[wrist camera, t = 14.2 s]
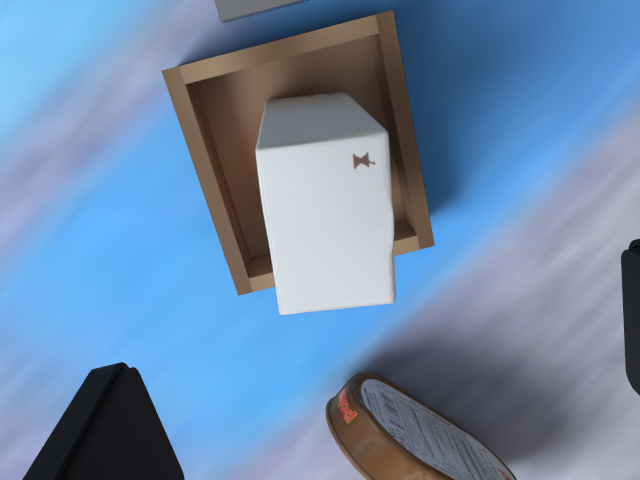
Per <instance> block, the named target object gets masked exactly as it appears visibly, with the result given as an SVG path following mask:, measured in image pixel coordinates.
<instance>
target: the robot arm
mask: <svg viewBox="0 0 640 480" xmlns="http://www.w3.org/2000/svg"><path fill="white" fill-rule="evenodd" d="M621 268H622V292H623V315H624V339H625V363H626V374H627V377H628V380H629V382H630V384H631V386H632V388H633V389H634V390H635V391H636V392H637V393H638V394H639V395H640V239H637V240H633V241H632V242H631V243H630V245H629V249H628V250H625V251H624V252H623V253H622V256H621ZM23 480H185V479H184V474H183V471H182V469H181V466H180V464H179V462H178V460H177V457H176V455H175V453H174V450H173V448H172V446H171V444H170V441H169V439H168V437H167V435H166V432H165V430H164V428H163V425H162V423H161V421H160V419H159V416H158V414H157V412H156V409H155V407H154V405H153V403H152V400H151V398H150V396H149V393H148V391H147V389H146V387H145V384H144V382H143V380H142V378H141V375H140V373H139V371H138V370H137V369H136V368H134V367H132V368H129V367H128V366H127V365H126V364H125V363H123V362H121V363H117V364H113V365H108V366H104V367H100V368H96V369H92V370H91V371H90V373H89V374H88V376H87V377H86V379H85V380H84V382H83V384H82V385H81V387H80V388H79V390H78V392H77V393H76V395H75V396H74V398H73V400H72V401H71V403H70V404H69V406H68V408H67V409H66V411H65V412H64V414H63V416H62V417H61V419H60V420H59V422H58V424H57V425H56V427H55V428H54V430H53V432H52V433H51V435H50V436H49V438H48V440H47V441H46V443H45V444H44V446H43V448H42V449H41V451H40V452H39V454H38V456H37V457H36V459H35V460H34V462H33V464H32V465H31V467H30V468H29V470H28V472H27V473H26V475H25V476H24V478H23Z"/></svg>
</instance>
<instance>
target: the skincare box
mask: <svg viewBox="0 0 640 480" xmlns="http://www.w3.org/2000/svg"><path fill="white" fill-rule="evenodd" d="M255 152H256V160H257V169H258V178H259V186H260V194H261V201H262V207H263V214H264V219H265V225H266V230H267V236H268V242H269V248H270V254H271V260H272V266H273V273H274V279H275V285H276V292H277V298H278V305H279V312H280V314H281V315H288V314H294V313H303V312H312V311H322V310H332V309H342V308H351V307H361V306H370V305H380V304H391V303H394V301H395V299H396V287H395V265H394V213H393V205H392V186H391V168H390V151H389V137H388V132H387V131H386V130H385V129H384V128H383V127H382V126H381V125H380V124H379V123H378V122H377V121H376V120H375V119H373V118H372V117H371V116H370V115H369V114H368V113H367V112H366V111H365V110H364V109H363V108H362V107H361V106H360V105H359V104H358V103H356V102H355V101H354V100H353V99H352V98H351V97H350V96H349V95H348V94H347V93H346V92H335V93H325V94H314V95H306V96H298V97H290V98H281V99H271V100H267V101H266V104H265V108H264V113H263V117H262V122H261V127H260V132H259V136H258V141H257V146H256V150H255Z"/></svg>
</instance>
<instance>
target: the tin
mask: <svg viewBox="0 0 640 480" xmlns="http://www.w3.org/2000/svg"><path fill="white" fill-rule="evenodd" d="M326 419H327V423H328V426H329V429H330V431H331V434H332V436H333V437H334V439H335V441H336V443H337V444H338V446H339V447H340V449H341V451H342V452H343V453H344V455H345V456H346V458H347V459H348V460H349V462H350V463H351V464H352V465H353V466H354V467H355V469H356V470H357V471H358V472H359V473H360V474H361V475H362V476H363V477H364V478H365V479H366V480H517V479H516V477H515V476H514V475H513V473H512V472H511V471H510V470H509V468H508V467H507V466H506V465H505V464H504V463H503V462H502V461H501V460H500V459H499V458H498V457H497V456H496V455H495V454H494V453H493V452H492V451H491V450H490V449H489V448H488V447H486V446H485V445H484V444H483V443H482V442H481V441H479V440H478V439H477V438H475V437H474V436H473V435H471V434H470V433H468V432H467V431H465V430H464V429H462V428H461V427H459V426H458V425H456V424H455V423H453V422H452V421H450V420H449V419H447V418H446V417H444V416H442V415H441V414H439V413H438V412H436V411H435V410H433V409H432V408H430V407H428V406H427V405H425V404H424V403H422V402H421V401H419V400H418V399H416V398H414V397H413V396H411V395H410V394H408V393H406V392H405V391H403V390H402V389H400V388H398V387H397V386H395V385H394V384H392V383H390V382H389V381H387V380H385V379H383V378H381V377H379V376H376V375H373V374H370V373H359V374H356V375H354V376H353V377H352V378H351V379H350V380H349V381H348V382H347V383H346V384H345V385H344V386H343V388H342V389H341V390H340V391H339V392H338V394H337V395H336V396H335V397H333V398H332V399H330V400H329V402H328V403H327V406H326Z"/></svg>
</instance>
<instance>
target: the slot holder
mask: <svg viewBox="0 0 640 480" xmlns="http://www.w3.org/2000/svg"><path fill="white" fill-rule="evenodd" d="M214 1H215V4H216V8H217V11H218V14H219V18H220V21H221V22H224V23H226V22H229V21H233V20H237V19H241V18H244V17H248V16H252V15H256V14H260V13H263V12H267V11H271V10H275V9H278V8H282V7H286V6H290V5H294V4H297V3H301V2H305V1H309V0H214Z"/></svg>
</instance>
